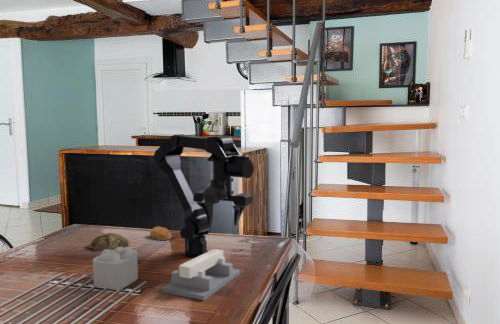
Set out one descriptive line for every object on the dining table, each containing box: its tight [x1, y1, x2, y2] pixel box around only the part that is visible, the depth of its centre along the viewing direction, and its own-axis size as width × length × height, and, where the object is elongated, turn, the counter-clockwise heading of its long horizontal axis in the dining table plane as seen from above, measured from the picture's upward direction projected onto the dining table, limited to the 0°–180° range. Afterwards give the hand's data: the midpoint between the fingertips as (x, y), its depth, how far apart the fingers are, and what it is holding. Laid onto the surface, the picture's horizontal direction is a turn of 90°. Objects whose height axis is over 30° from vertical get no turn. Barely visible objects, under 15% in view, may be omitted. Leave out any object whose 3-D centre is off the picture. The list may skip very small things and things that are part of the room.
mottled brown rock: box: [88, 232, 130, 252], centre depth 155 cm, size 13×12×5 cm
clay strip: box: [178, 248, 225, 279], centre depth 120 cm, size 16×3×3 cm, turn 150°
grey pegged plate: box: [161, 256, 241, 302], centre depth 121 cm, size 20×13×6 cm, turn 154°
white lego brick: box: [92, 247, 139, 290], centre depth 123 cm, size 10×13×9 cm
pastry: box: [149, 226, 172, 241], centre depth 165 cm, size 9×7×4 cm
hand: (223, 224), depth 137 cm, fingers open, 9 cm apart
